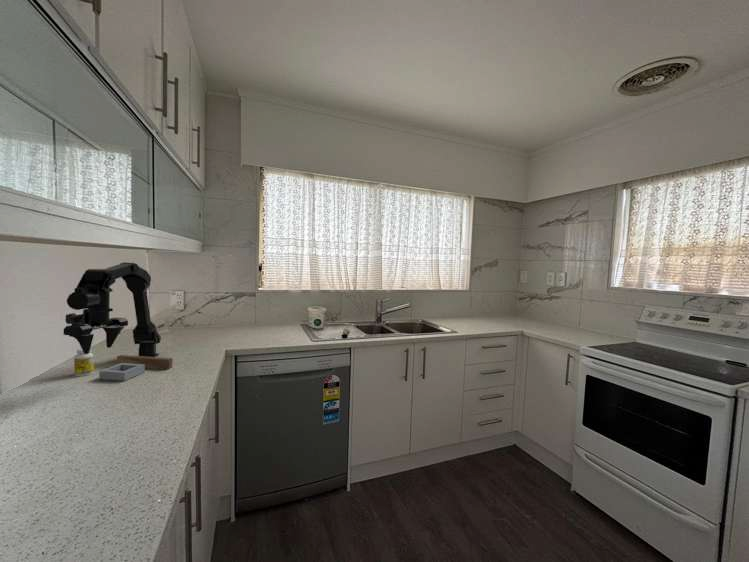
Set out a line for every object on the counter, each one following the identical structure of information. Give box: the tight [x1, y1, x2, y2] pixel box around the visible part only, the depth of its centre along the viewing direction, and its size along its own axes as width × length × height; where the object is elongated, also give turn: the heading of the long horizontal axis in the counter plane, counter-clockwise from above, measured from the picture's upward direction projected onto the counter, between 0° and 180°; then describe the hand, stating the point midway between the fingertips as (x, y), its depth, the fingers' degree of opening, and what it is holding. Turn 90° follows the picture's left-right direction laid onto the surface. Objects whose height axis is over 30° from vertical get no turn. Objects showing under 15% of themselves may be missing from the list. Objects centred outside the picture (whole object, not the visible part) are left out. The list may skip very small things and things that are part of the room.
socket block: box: [98, 363, 146, 382], centre depth 119 cm, size 10×10×3 cm
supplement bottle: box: [73, 347, 95, 377], centre depth 119 cm, size 5×5×10 cm
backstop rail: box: [116, 354, 173, 370], centre depth 129 cm, size 2×22×4 cm, turn 88°
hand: (98, 350), depth 108 cm, fingers open, 8 cm apart
